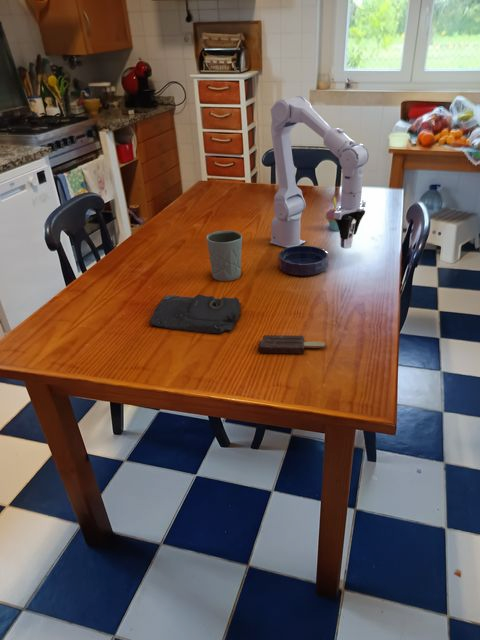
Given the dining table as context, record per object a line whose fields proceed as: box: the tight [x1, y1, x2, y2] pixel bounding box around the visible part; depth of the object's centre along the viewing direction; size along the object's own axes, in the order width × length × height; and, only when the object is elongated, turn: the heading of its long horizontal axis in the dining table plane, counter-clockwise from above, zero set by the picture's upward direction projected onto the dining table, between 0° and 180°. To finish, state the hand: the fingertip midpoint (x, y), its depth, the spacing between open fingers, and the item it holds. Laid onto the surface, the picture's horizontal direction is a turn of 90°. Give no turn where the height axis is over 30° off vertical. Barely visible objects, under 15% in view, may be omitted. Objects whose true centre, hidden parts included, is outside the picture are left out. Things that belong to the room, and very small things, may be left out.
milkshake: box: [340, 216, 359, 249], centre depth 146 cm, size 5×5×10 cm
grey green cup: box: [205, 230, 243, 282], centre depth 141 cm, size 10×10×12 cm
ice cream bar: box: [258, 334, 326, 355], centre depth 110 cm, size 5×2×15 cm
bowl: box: [278, 245, 329, 277], centre depth 147 cm, size 15×15×4 cm
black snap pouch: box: [149, 294, 242, 335], centre depth 123 cm, size 15×22×5 cm
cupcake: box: [325, 195, 339, 231], centre depth 172 cm, size 9×8×12 cm
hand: (348, 236), depth 147 cm, fingers closed on milkshake, 4 cm apart
